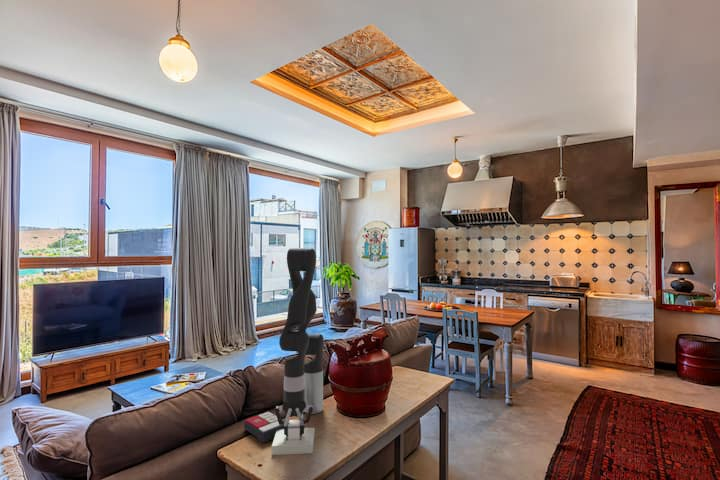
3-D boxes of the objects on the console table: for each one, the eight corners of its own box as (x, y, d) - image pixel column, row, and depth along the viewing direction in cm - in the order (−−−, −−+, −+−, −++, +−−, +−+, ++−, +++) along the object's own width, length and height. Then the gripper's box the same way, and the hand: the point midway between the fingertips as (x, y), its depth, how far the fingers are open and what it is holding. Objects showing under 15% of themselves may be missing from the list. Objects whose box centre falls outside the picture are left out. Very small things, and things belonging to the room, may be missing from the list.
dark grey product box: (268, 410, 149) (288, 420, 138) (269, 421, 149) (289, 432, 138) (243, 419, 141) (262, 431, 131) (243, 430, 141) (263, 443, 130)
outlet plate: (276, 437, 135) (276, 429, 136) (314, 435, 137) (314, 427, 137) (271, 455, 123) (271, 446, 124) (312, 453, 125) (312, 444, 125)
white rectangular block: (289, 442, 132) (289, 420, 132) (300, 442, 132) (300, 419, 133) (287, 448, 128) (287, 424, 128) (299, 447, 128) (299, 424, 129)
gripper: (314, 382, 135) (314, 429, 134) (275, 384, 134) (275, 431, 133) (313, 390, 128) (313, 439, 127) (272, 391, 127) (272, 441, 126)
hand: (294, 435), depth 130 cm, fingers open, 4 cm apart
